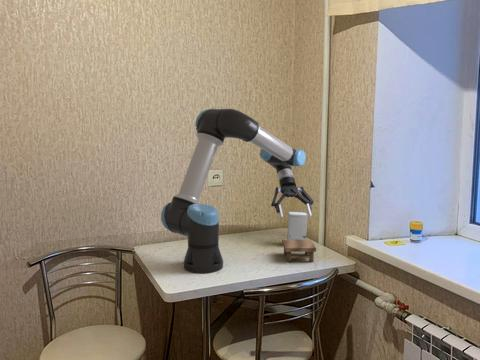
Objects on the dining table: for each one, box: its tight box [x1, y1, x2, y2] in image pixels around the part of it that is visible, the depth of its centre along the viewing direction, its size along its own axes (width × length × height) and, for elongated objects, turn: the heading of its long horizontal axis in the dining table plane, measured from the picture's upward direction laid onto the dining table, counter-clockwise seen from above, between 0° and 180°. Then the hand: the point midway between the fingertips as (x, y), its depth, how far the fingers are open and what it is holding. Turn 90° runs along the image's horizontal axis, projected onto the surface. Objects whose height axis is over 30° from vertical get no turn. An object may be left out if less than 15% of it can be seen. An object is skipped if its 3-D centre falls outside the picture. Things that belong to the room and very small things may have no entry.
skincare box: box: [286, 211, 308, 240], centre depth 194 cm, size 8×6×15 cm
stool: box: [281, 239, 317, 263], centre depth 177 cm, size 12×12×6 cm
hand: (296, 217), depth 198 cm, fingers open, 13 cm apart
